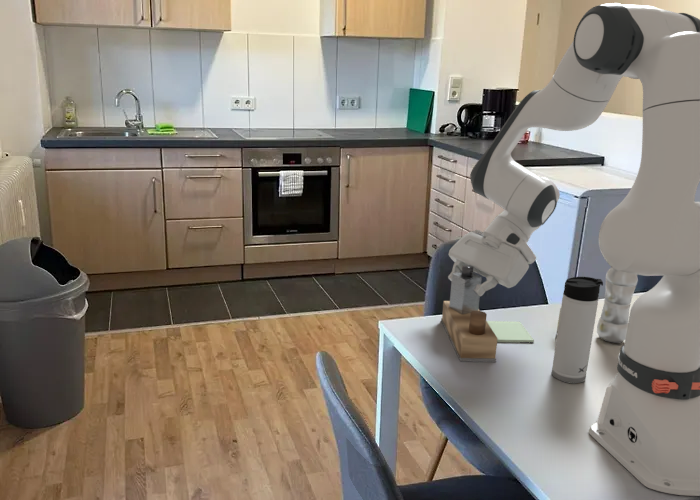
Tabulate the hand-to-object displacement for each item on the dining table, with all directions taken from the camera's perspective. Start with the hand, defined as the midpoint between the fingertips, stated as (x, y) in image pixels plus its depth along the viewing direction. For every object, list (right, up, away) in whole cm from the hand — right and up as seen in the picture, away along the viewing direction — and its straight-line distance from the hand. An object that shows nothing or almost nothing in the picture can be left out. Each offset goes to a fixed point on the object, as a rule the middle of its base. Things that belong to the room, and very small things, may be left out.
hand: (463, 286), depth 139 cm
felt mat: (+10, -10, +3) cm, 14 cm away
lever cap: (0, -5, +2) cm, 5 cm away
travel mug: (+18, -17, -16) cm, 29 cm away
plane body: (0, -11, -1) cm, 11 cm away
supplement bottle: (+24, -11, +3) cm, 26 cm away
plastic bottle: (+33, -12, +2) cm, 35 cm away
